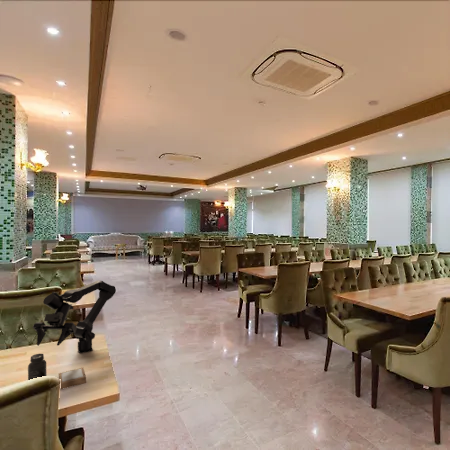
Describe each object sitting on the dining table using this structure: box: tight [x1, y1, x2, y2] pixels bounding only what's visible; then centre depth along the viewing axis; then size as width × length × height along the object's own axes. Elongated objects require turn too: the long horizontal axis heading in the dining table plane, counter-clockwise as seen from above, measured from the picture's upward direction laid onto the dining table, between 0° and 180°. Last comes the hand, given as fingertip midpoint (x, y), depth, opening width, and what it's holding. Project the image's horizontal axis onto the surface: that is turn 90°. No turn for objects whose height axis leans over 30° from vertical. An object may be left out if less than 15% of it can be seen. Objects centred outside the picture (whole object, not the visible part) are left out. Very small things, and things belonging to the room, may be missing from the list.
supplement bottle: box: [27, 353, 48, 381], centre depth 128 cm, size 7×7×12 cm
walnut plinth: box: [58, 367, 87, 390], centre depth 130 cm, size 10×10×3 cm
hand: (47, 345), depth 135 cm, fingers open, 9 cm apart
